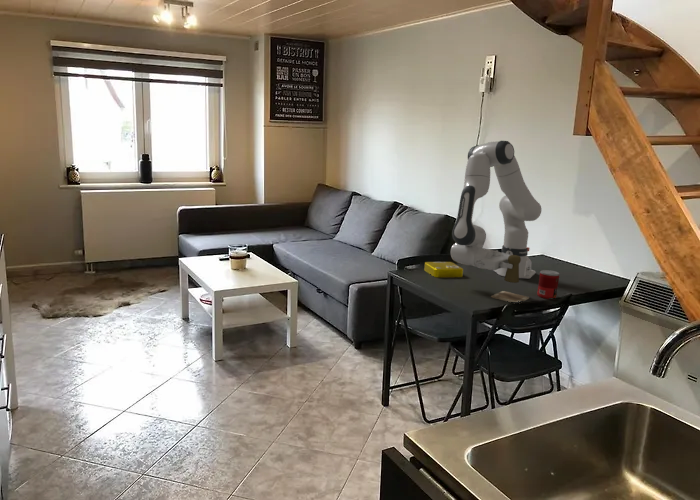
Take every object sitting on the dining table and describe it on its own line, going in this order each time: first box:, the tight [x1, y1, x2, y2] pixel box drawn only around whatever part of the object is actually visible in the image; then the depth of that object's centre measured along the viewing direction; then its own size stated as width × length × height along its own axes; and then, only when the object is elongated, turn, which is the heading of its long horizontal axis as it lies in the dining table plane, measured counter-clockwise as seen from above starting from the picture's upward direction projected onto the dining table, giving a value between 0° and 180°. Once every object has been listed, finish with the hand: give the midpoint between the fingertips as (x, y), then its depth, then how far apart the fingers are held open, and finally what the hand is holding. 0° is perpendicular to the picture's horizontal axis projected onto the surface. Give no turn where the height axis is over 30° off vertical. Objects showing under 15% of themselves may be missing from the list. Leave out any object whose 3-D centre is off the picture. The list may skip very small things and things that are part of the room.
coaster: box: [490, 290, 530, 303], centre depth 245 cm, size 12×12×1 cm
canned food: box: [536, 269, 560, 300], centre depth 249 cm, size 8×8×11 cm
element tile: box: [423, 261, 464, 278], centre depth 280 cm, size 15×15×5 cm
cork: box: [503, 255, 521, 284], centre depth 242 cm, size 6×6×11 cm
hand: (515, 265), depth 242 cm, fingers closed on cork, 4 cm apart
